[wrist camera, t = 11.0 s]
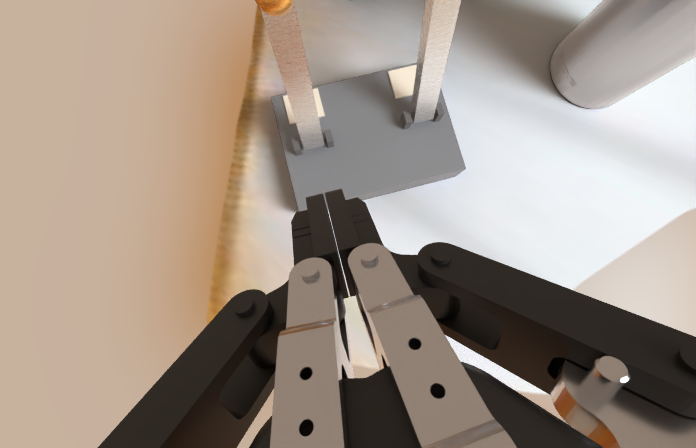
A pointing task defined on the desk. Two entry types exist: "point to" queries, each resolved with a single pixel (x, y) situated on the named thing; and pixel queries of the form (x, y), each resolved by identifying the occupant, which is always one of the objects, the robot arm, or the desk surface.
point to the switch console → (369, 139)
